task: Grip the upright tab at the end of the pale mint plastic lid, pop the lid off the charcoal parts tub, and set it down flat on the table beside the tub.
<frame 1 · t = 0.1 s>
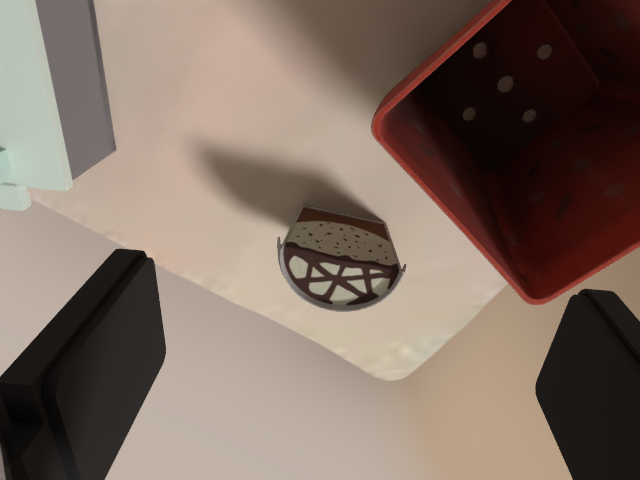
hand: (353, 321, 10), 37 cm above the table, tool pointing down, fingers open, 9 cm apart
parts tub: (27, 41, 43), on the table
food container: (337, 236, 52), on the table
plant pot: (505, 81, 42), on the table
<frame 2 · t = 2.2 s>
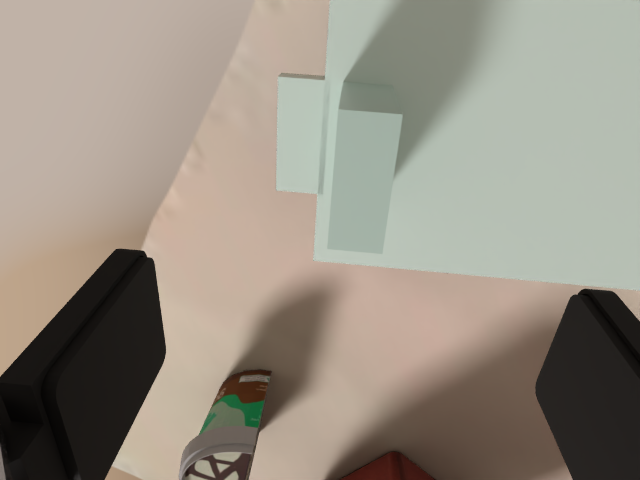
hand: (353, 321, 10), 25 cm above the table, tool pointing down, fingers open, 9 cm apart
food container: (236, 396, 48), on the table
lid: (509, 144, 25), point 8 cm above the table, touching parts tub
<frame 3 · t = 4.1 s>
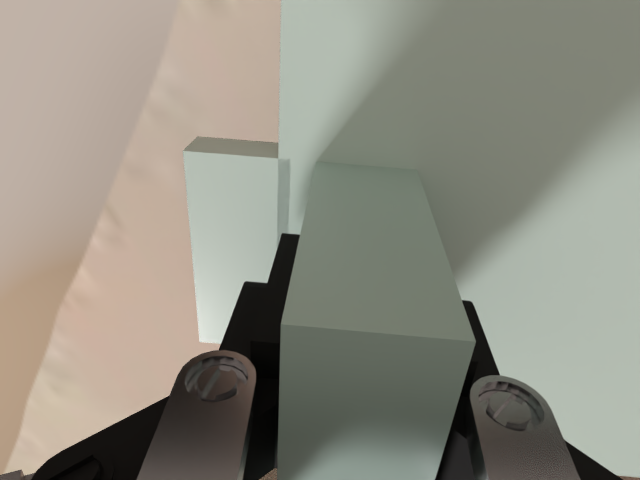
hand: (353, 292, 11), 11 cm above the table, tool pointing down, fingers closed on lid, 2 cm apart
lid: (621, 255, 14), point 8 cm above the table, touching gripper, parts tub
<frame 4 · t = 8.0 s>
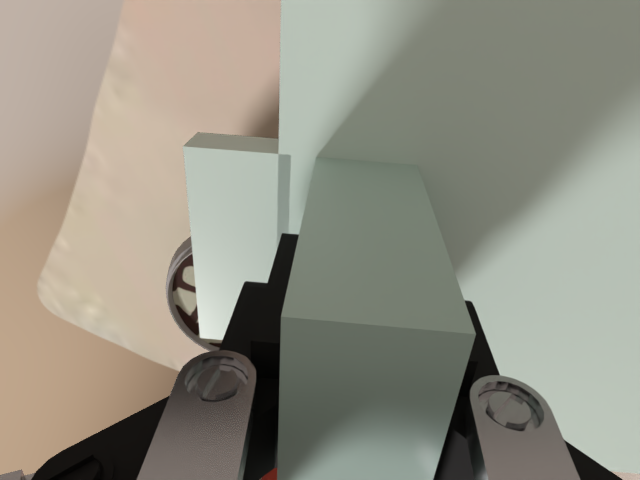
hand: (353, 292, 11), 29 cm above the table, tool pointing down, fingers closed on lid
food container: (228, 235, 44), on the table
lid: (621, 251, 14), point 26 cm above the table, touching gripper
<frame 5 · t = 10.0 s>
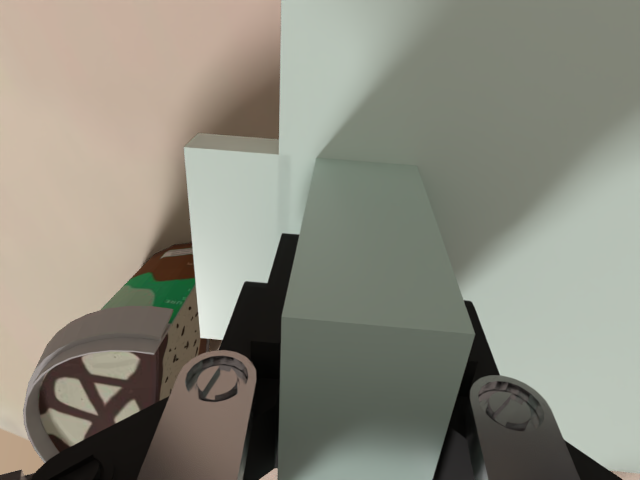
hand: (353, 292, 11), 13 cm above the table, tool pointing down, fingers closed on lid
food container: (165, 295, 29), on the table
lid: (621, 251, 14), point 10 cm above the table, touching gripper
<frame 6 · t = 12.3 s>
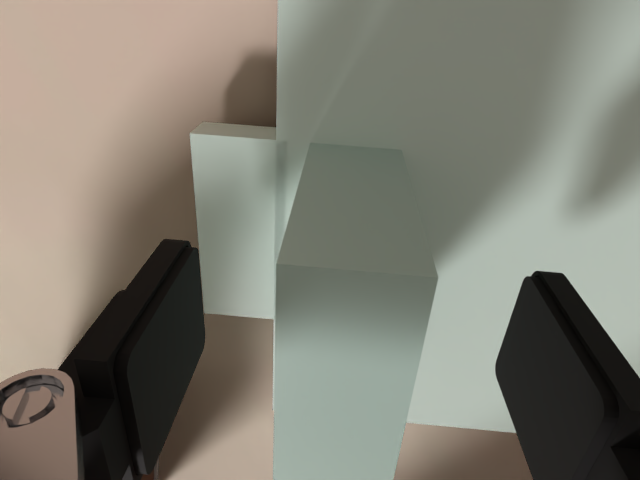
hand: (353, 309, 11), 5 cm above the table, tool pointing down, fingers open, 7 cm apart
lid: (594, 233, 15), on the table
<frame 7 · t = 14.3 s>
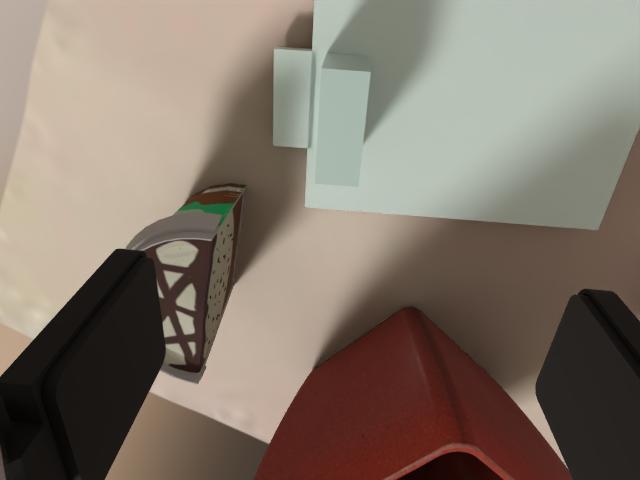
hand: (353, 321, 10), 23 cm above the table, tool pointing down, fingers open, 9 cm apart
food container: (201, 230, 36), on the table
plant pot: (402, 377, 43), on the table
lid: (465, 106, 31), on the table
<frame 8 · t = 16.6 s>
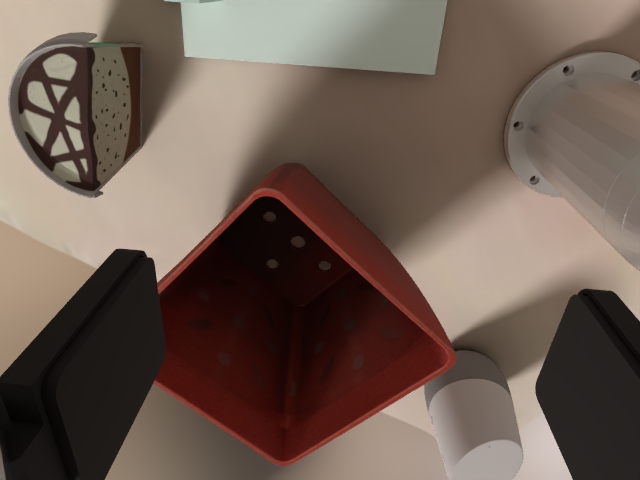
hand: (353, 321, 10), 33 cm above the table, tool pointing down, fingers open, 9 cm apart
food container: (109, 90, 42), on the table
plant pot: (300, 240, 48), on the table
smart speaker: (459, 370, 55), on the table
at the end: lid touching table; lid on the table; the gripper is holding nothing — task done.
